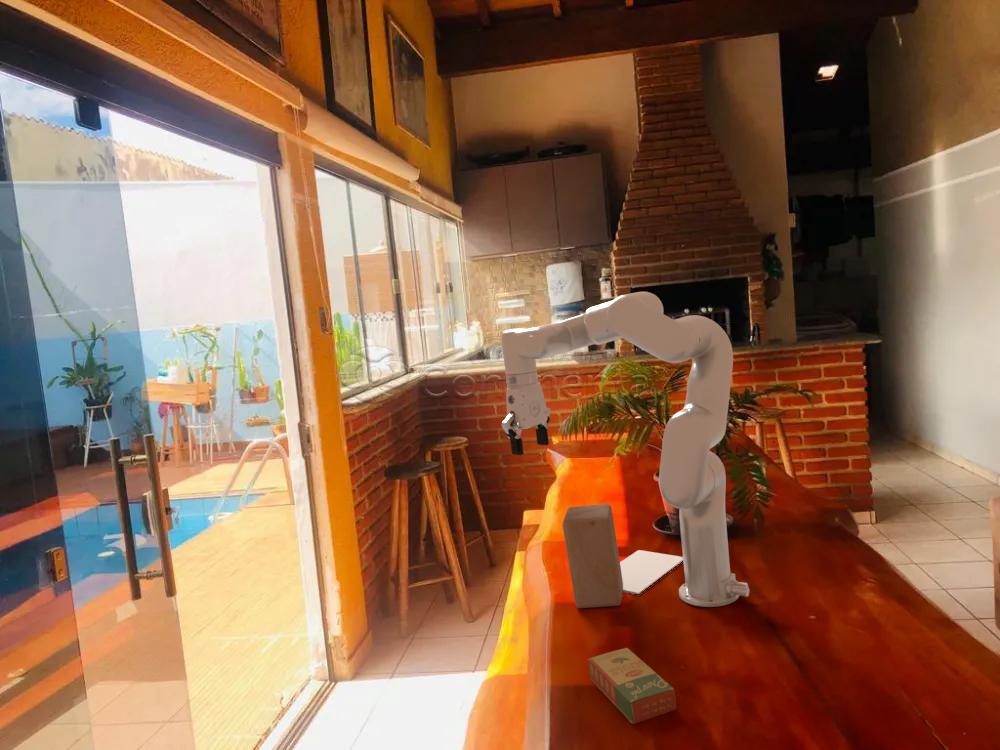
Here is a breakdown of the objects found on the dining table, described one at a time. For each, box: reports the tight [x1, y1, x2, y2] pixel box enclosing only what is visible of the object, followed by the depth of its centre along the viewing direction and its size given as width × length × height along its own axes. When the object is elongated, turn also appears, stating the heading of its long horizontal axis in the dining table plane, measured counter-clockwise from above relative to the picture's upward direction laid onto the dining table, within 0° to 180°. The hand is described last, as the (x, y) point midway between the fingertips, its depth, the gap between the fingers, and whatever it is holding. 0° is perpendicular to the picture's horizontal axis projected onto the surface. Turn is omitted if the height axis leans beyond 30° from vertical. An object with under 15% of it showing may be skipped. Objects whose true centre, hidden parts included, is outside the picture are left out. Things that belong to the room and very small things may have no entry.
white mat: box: [620, 549, 683, 595], centre depth 179 cm, size 13×22×1 cm, turn 139°
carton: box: [587, 647, 677, 725], centre depth 129 cm, size 8×16×4 cm, turn 19°
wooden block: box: [562, 503, 624, 609], centre depth 166 cm, size 10×10×20 cm
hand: (530, 449), depth 184 cm, fingers open, 9 cm apart
